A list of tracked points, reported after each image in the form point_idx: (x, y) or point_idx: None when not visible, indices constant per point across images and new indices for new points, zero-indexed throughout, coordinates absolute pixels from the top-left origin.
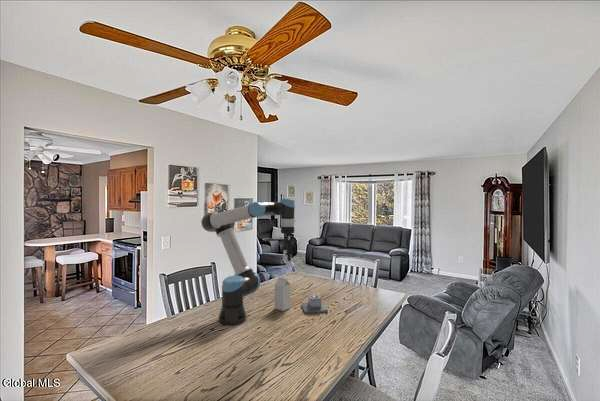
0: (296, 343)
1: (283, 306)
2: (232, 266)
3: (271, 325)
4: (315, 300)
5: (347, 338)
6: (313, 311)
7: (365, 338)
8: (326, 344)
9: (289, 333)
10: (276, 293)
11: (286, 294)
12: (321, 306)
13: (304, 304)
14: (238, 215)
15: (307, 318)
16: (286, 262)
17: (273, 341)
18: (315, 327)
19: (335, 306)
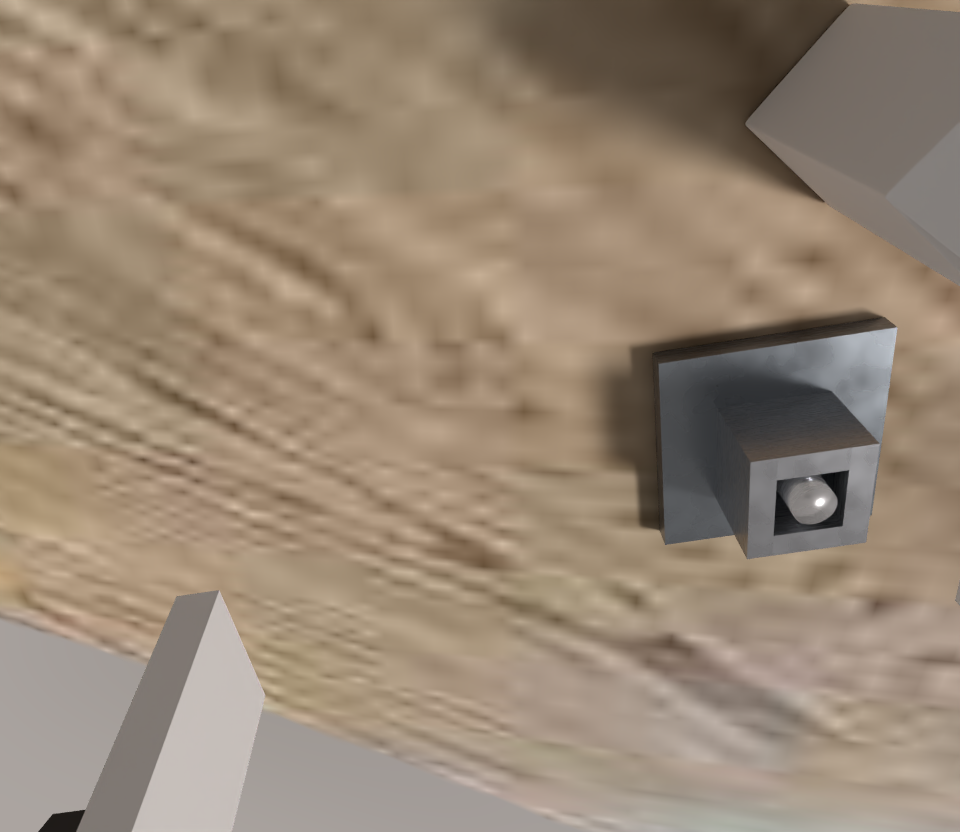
0: (34, 280)
1: (765, 137)
2: None
3: (361, 8)
4: (741, 499)
5: None
6: (659, 432)
7: None
8: (85, 486)
9: (205, 215)
10: (932, 47)
11: (863, 207)
12: None
13: (840, 359)
14: None
15: (540, 372)
16: (127, 715)
17: (6, 66)
18: (356, 428)
19: (781, 590)
